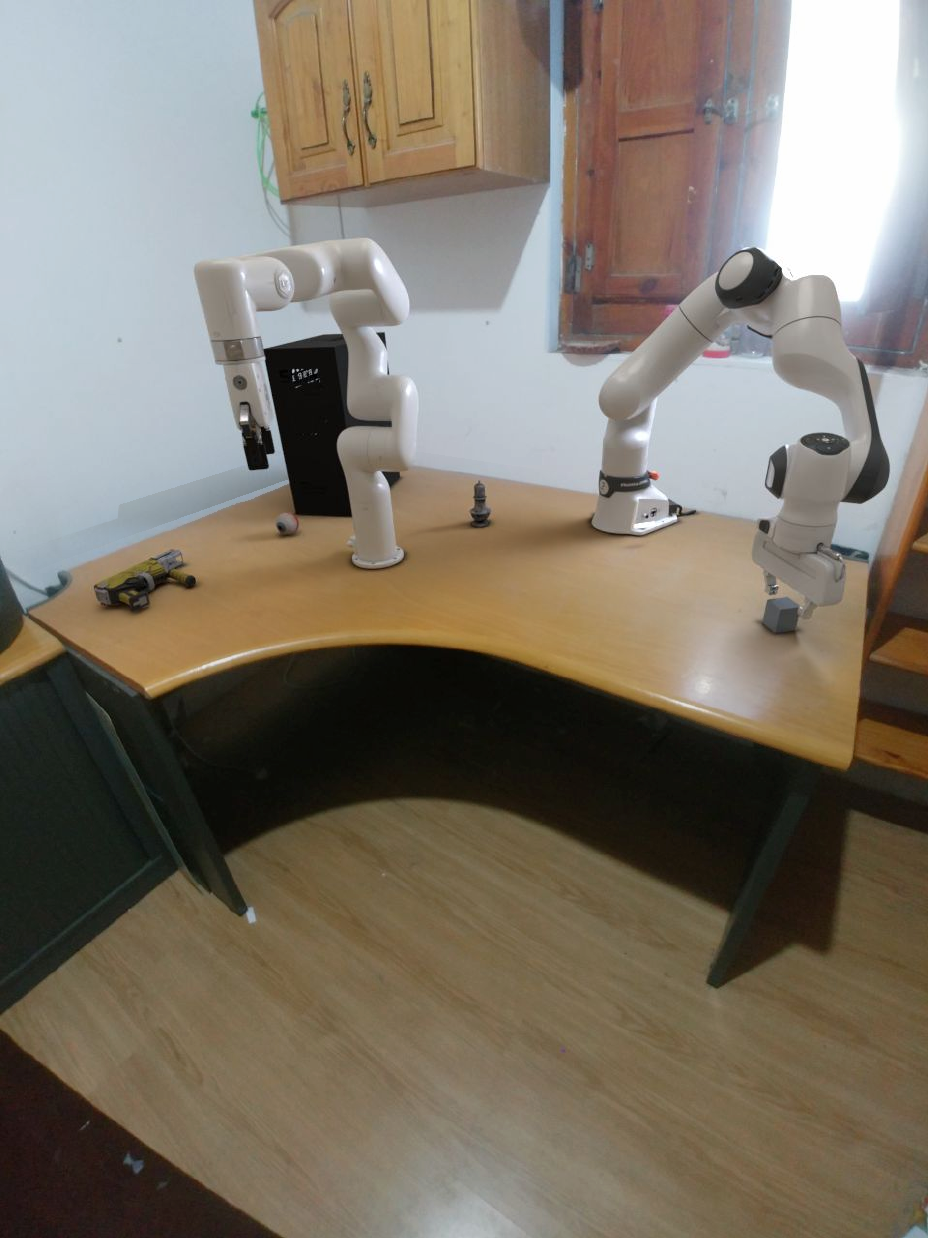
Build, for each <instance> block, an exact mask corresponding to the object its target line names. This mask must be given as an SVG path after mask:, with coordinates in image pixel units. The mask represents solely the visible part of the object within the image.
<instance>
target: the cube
mask: <svg viewBox="0 0 928 1238" xmlns="http://www.w3.org/2000/svg"><path fill="white" fill-rule="evenodd" d="M798 607H802V606H801V605H799V604H798V603H797V602H796V601H794V600H793V599H792V598H790V597H789V596H784V597H783V596H782V597H775V598H769V599H766V603H765V608H764V612H763V617H762V621H761V623H762V625H764V626H765V627H767V629H769V630H771V631H772V632H773V633H774V634H779V633H785V632H792V631H793V632H794V631H796V630H797V625H798V622H799V618H800V617H799V616H798V615H797V612H798Z"/></svg>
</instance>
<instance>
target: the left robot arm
mask: <svg viewBox="0 0 928 1238" xmlns="http://www.w3.org/2000/svg"><path fill="white" fill-rule="evenodd" d="M193 275H194V280H195V284H196V288H197V292H198V296H199V300H200V304H201V309H202V313H203V318H204V321H205V325H206V326H205V327H206V330H207V334H208V337H209V338H208V339H209V340H210V341H209V343H210V347H211V351H212V355H213V359H214V363H215V365H218V366H222V367H223V371H224V380H225V383H226V388H227V392H228V397H229V401H230V407H231V410H232V414H233V418H234V422H235V426H236V428H237V429H238V430H239V431H240V432H241V441H242V449H243V453H244V455H245V460H246V464H247V469H248V470H249V471H261V470H268V469H269V468H270V463H269V459H268V455H274V454H275V453H276V449H275V445H274V439H273V435H272V430H271V429H270V427H271V425H272V423H273V421H274V418H275V416H274V414H275V413H274V411H273V406H272V402H271V398H270V393H269V389H268V386H267V382H266V377H265V373H264V370H263V367H262V363H261V362H263V361H265V354H264V349H265V348H264V344H263V339H262V336H261V331H260V326H259V320H258V315H257V312H261V313H262V312H275V311H281V310H282V309H284V308H286V307H287V306H288V305H289V304H291V303H301V302H308V301H312V300H316V299H318V298H321V297H324V296H327V295H328V305H329V309H330V312H331V313H330V314H331V316H332V317H333V319H334V321H335V323H336V325H337V327H338V329H339V331H340V333H341V334H343V337H344V339H345V341H346V344H347V348H348V354H349V362H348V385H347V407H348V411H349V413H350V414H351V416H353V417H354V418H356V419H359V420H368V421H392V427H378V426H354V427H350V428H347V429H345V430H344V431H342V433H341V434H340V435H339V437H338V441H337V451H338V455H339V459H340V462H341V464H342V467H343V470H344V473H345V477H346V481H347V486H348V492H349V498H350V505H351V511H352V516H351V518H352V525H353V531H354V535H350V538H349V540H348V541H347V543H346V544H347V547H349V548H353V550H354V553H353V554H352V555H351V561H352V563H353V565H355V566H356V567H359V568H362V569H370V570H371V569H373V570H374V569H376V570H377V569H383V568H388V567H391V566H394V565H396V564H398V563H400V562H401V561H402V560H403V559H404V557H405V556H404V555H405V554H404V550H403V548H402V547H400V546H398V545H397V541H396V540H397V539H396V530H395V524H394V514H393V506H392V496H391V488H390V487H389V485H388V482H387V480H386V478H385V477H384V475H383V474H382V472H381V471H386V472H400V473H403V472H407V471H409V470H410V469H411V468H412V467H413V466H414V463H415V460H416V455H417V453H416V452H417V441H418V440H417V439H418V425H419V410H420V409H419V407H420V405H419V403H420V402H419V401H420V399H419V393H418V388H417V385H416V383H415V381H414V380H413V379H412V378H411V377H409V376H407V375H403V374H389V375H387V364H388V365H389V353H388V349H387V350H386V348H387V347H386V348H385V346H384V344H383V342H382V341H381V339H380V338H379V336H378V335H377V334H376V332H377V331H375V330H374V328H376V327H378V328H379V327H380V328H381V327H397V326H400V325H402V324H404V323H405V322H406V320H407V318H408V317H409V314H410V307H411V306H410V305H411V304H410V297H409V294H408V291H407V287H406V286H405V284H404V282H403V280H402V279H401V277H400V275H399V273H398V272H397V270H396V269H395V267H394V265H393V264H392V261H391V260H390V258H389V257H388V255H387V253H386V252H385V251H384V250H383V248H382V247H381V246H380V245H379V244H378V243H377V242H376V241H374V240H373V239H371V238H369V237H355V238H342V239H329V240H328V239H327V240H322V241H316V242H310V243H303V244H295V245H291V246H284V247H279V248H274V249H271V250H265V251H261V252H255V253H250V254H242V255H236V256H230V257H224V258H209V259H202V260H199V261H197V262H195V264H194V266H193Z"/></svg>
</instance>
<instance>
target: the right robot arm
mask: <svg viewBox="0 0 928 1238" xmlns="http://www.w3.org/2000/svg"><path fill="white" fill-rule="evenodd" d="M839 296H840V295H839V292H838V287H837V284H836V282H835V280H834V279H833V278H832V277H830V276H829V275H828V274H825V273H821V272H811V273H810V272H809V273H806V274H803V275H800V276H798V277H797V276H796V275H795V274H794V273H793V272H792V270H790V269H789V268H788V267H786V266H784V265H783V264H782V263H781V262H779V261H778V260H776V258H775V257H774V256H773V255H772V254H771V253H769V252H768V251H766V250H764V249H762V248H759V247H756V246H747V247H744V248H741V249H738V250H737V251H736V252H735V253H733V254H732V255H730V257H728V258H727V259H726V260H725V262H724V263H723V264H722V266H721V267H720V269H719V270H718V271H716V272H715V273H713V274H712V275H711V276H709V277H708V278H706V279H705V280H704V281H703V282H702V283H700V284H699V285H698V286H697V287H695V289H694V290H692V291H691V292H690V293H689V294H688V295H687V296H686V297H685V298H684V299H682V301H681V302H680V303H679V304H678V305H677V306H676V307H675V309H673V310H672V312H671V313H670V314H669V315H668V316H666V318H665V319H664V320H663V321H662V322H661V324H659V325H658V326H657V328H655V330H654V331H653V332H652V333H651V334H650V335H648V337H647V338H646V339H645V340H644V341H643V342H641V344H639V346H637V348H636V349H635V350H634V351H633V352H632V353H630V355H629V356H627V358H625V360H623V361H622V362H621V363H620V365H619V366H618V367H617V368H616V369H615V370H614V371H612V373H611V374H610V375H609V376H608V377H607V378H606V379H605V381H604V382H603V384H602V386H601V388H600V390H599V393H598V406H599V408H600V411H601V412H602V414H603V415H604V416H606V418H608V420H607V425H606V429H605V433H604V436H603V440H602V453H601V468H600V470H599V474H598V492H599V493H598V498H597V502H596V507H595V511H594V514H593V517H592V520H591V525H592V526H593V527H594V528H595V529H597V530H599V531H601V532H605V533H611V534H623V535H625V534H626V535H632V536H633V535H634V536H645V535H646V534H650V533H652V532H654V531H657V530H660V529H662V528H665V527H668V526H670V525H672V524H675V523H677V522H678V516H677V515H676V514H677V513H678V515H679V516H689V515H692V514H695V513H696V512H697V510H696V509H693V510H690V511H687V512H682V511H683V506H682V505H681V504H678V503H676V502H675V501H673V500H672V499H670V498H668V497H667V496H666V495H665V494H664V493H663V492H661V491H660V490H659V489H658V488H656V487H655V486H654V485H652V483H651V480H653V481H658V479H659V478H660V473H659V472H657V471H654V470H651V471H649V470H648V469H647V466H648V458H649V457H648V456H649V447H650V440H651V433H652V429H653V425H654V419H655V415H656V409H657V402H658V397H659V396H660V395H661V394H662V393H663V392H664V391H665V390H666V389H667V388H668V387H669V386H670V385H672V383H674V381H675V380H676V379H677V378H678V377H680V375H682V374H683V373H684V372H685V371H686V370H687V369H688V368H689V367H690V366H691V365H692V364H693V363H694V362H695V361H696V360H697V359H698V358H699V357H700V356H702V354H703V353H704V352H706V350H707V349H709V347H711V346H712V345H713V344H714V343H715V342H716V341H717V340H718V339H719V338H720V337H721V336H722V334H723V333H724V332H725V331H727V330H728V329H729V328H730V327H732V326H733V325H735V324H739V323H741V324H744V325H746V328H747V329H748V330H749V331H751V332H753V333H755V334H757V335H758V336H760V337H763V338H766V339H769V340H772V341H771V360H772V366H773V370H774V373H776V375H777V376H778V377H779V378H780V379H781V380H782V381H783V382H784V383H786V384H788V385H789V386H792V387H793V388H795V389H796V388H797V389H798V390H802V391H806V392H809V393H814V394H817V395H818V396H821V397H824V398H826V399H828V400H830V401H831V402H832V403H834V404H835V405H836V407H838V410H839V411H840V414H841V420H842V425H843V431H844V436H845V437H844V436H842V435H839V434H835V433H831V432H819V431H818V432H812V433H807V434H805V435H803V436H801V437H800V438H798V440H797V442H796V443H790V444H789V443H788V444H784V445H782V446H780V447H779V448H778V449H776V450H775V451H774V452H773V453H772V454H771V455H769V458H768V465H767V470H766V474H765V480H764V488H765V489H766V490H767V491H768V492H769V493H770V494H771V495H772V496H773V497H775V498H776V499H777V500H782V504H781V507H780V509H779V511H778V514H776V515H768V516H762V517H759V518H758V517H757V519H756V525H755V528H756V529H757V531H756V532H755V534H754V537H753V541H752V546H751V553H750V554H751V559H752V562H753V563H754V564H755V565H757V566H758V567H760V568H761V569H763V572H762V574H763V579H764V584H765V585H764V589H763V590H764V592H765V593H766V594H767V595H769V596H776V595H777V594H778V593H779V589H780V585H778V583H777V580H779V581H780V582H782V583H783V584H784V585H786V586H788V587H790V589H792V590H794V591H795V592H797V593H798V594H799V595H801V596H802V597H804V601H803V602H804V603H805V604H804V605H803V606H801V607H798V612H797V615H798V616H799V618H800V619H801V620H803V621H804V620H810V619H811V618H812V616H813V611H814V610H816V608H818V607H819V608H823V607H833V606H836V605H838V604H839V603H841V602H842V600H843V597H844V592H845V587H846V581H847V580H846V579H847V563H846V562H845V560H844V558H843V554H842V553H841V552H839V551H837V550H834V549H832V547H831V546H832V542H833V539H834V534H835V531H836V527H837V523H838V519H839V514H838V508H839V505H840V503H846V504H847V503H849V504H856V505H862V504H864V503H866V502H869V501H870V500H872V499H874V498H875V497H876V496H877V495H879V494H880V493H881V492H882V491H883V490H884V489H885V488H886V486H887V485H888V483H889V478H890V473H891V463H890V457H889V455H888V451H887V450H886V447H885V445H884V442H883V439H882V437H881V432H880V427H879V422H878V418H877V413H876V408H875V402H874V397H873V394H872V393H873V392H872V387H871V384H870V380H869V376H868V373H867V369H866V367H865V364H864V362H863V361H862V360H861V359H860V358H858V357H856V356H855V355H853V353H852V352H851V351H850V350H849V348H848V347H847V345H846V343H845V341H844V337H843V332H842V330H843V329H842V327H843V326H842V323H843V322H842V321H843V320H842V309H841V301H840V297H839Z"/></svg>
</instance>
